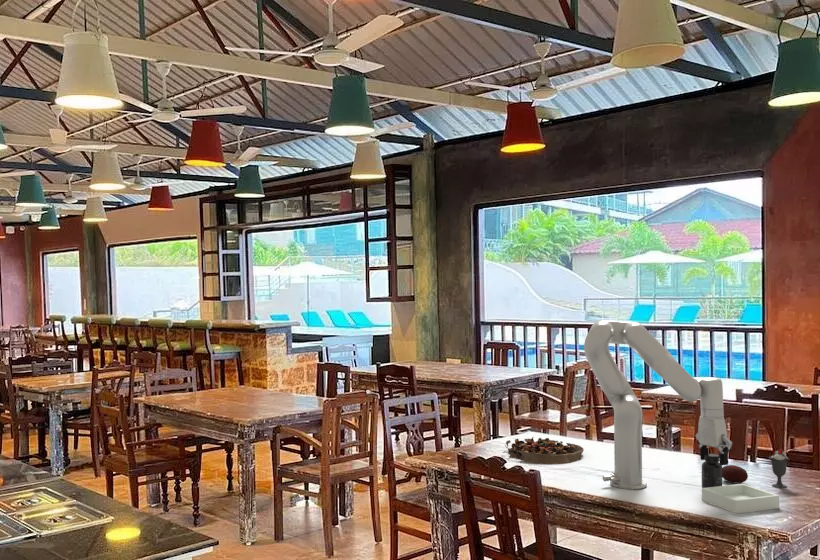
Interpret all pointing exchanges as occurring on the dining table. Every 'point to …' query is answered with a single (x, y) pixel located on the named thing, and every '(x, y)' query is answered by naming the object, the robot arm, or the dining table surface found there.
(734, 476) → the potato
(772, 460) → the sundae
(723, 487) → the tray
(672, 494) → the dining table surface
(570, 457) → the food dish
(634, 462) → the robot arm
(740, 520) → the dining table surface
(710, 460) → the supplement bottle
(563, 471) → the dining table surface
